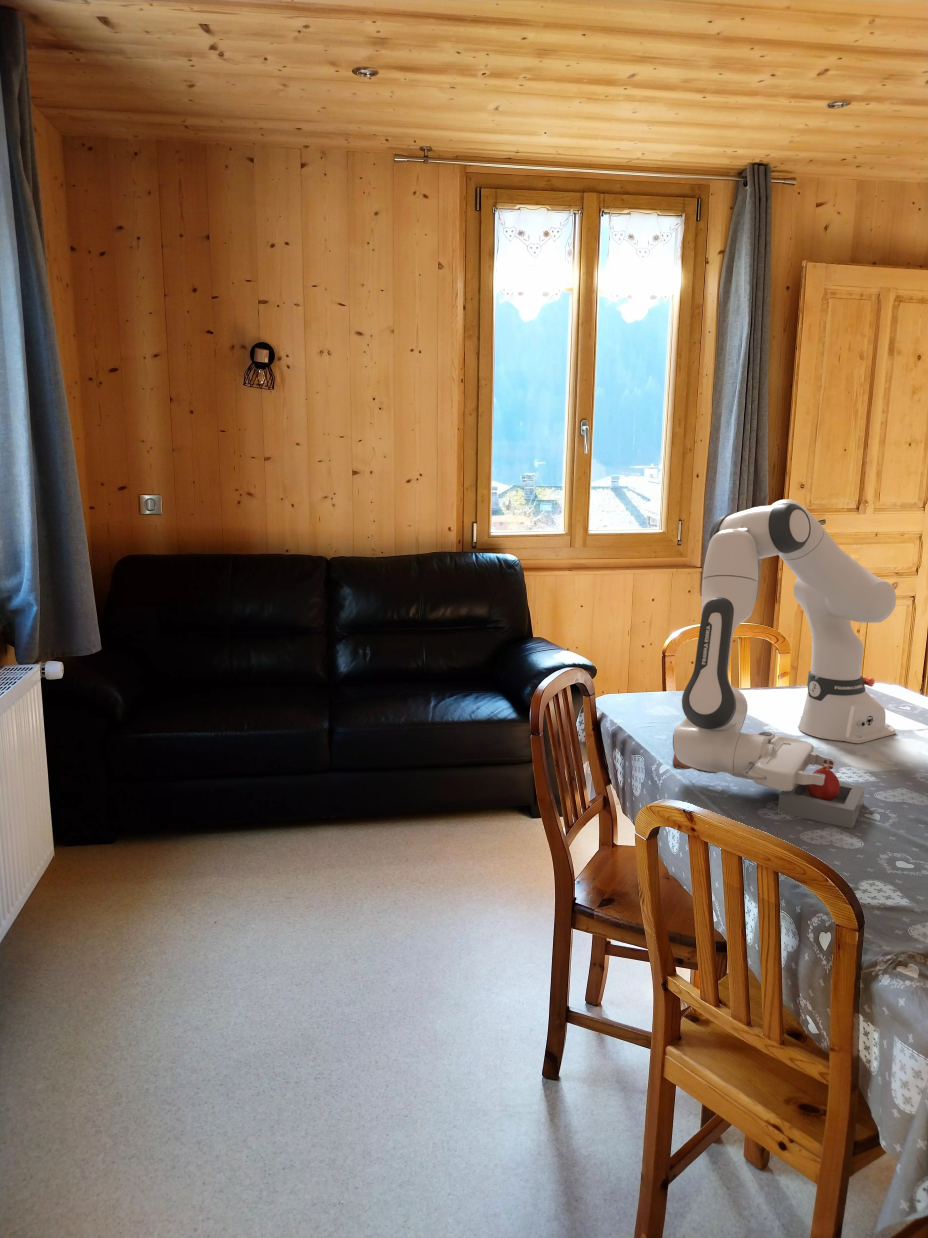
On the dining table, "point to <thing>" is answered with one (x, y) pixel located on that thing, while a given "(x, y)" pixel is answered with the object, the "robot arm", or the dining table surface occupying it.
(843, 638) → the robot arm
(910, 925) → the dining table surface
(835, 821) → the holder
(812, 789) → the red round fruit
